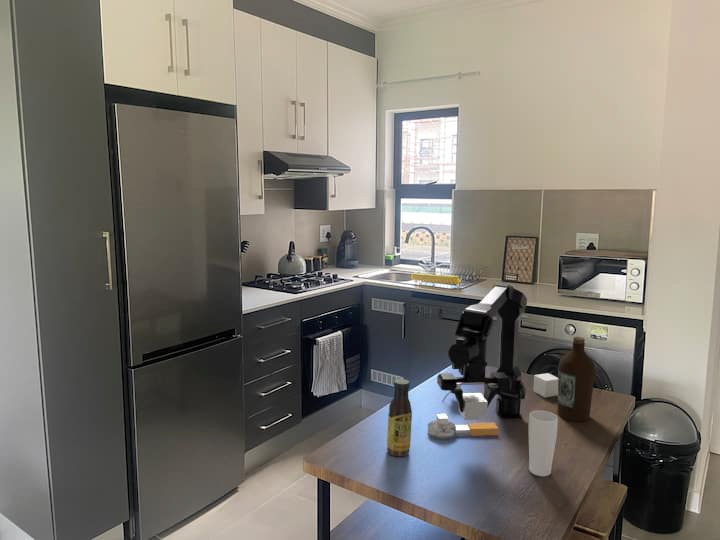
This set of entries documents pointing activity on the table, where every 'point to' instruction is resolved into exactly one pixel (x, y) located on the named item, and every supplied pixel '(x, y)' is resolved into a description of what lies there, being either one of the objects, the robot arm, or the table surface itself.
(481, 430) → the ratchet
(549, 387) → the white cube
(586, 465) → the table surface
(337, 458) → the table surface
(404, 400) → the sauce bottle
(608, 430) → the table surface
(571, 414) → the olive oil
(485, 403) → the brushed metal cube
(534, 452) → the drinking glass
